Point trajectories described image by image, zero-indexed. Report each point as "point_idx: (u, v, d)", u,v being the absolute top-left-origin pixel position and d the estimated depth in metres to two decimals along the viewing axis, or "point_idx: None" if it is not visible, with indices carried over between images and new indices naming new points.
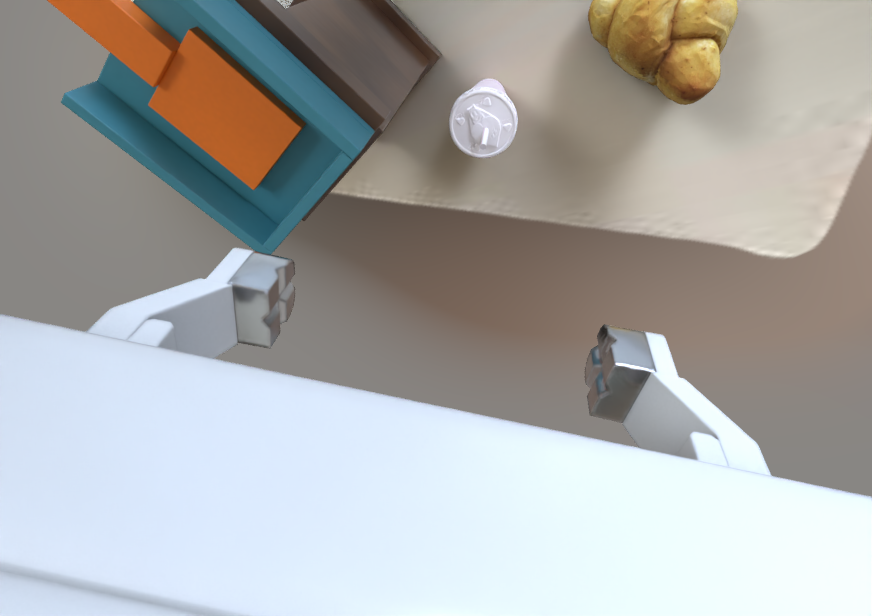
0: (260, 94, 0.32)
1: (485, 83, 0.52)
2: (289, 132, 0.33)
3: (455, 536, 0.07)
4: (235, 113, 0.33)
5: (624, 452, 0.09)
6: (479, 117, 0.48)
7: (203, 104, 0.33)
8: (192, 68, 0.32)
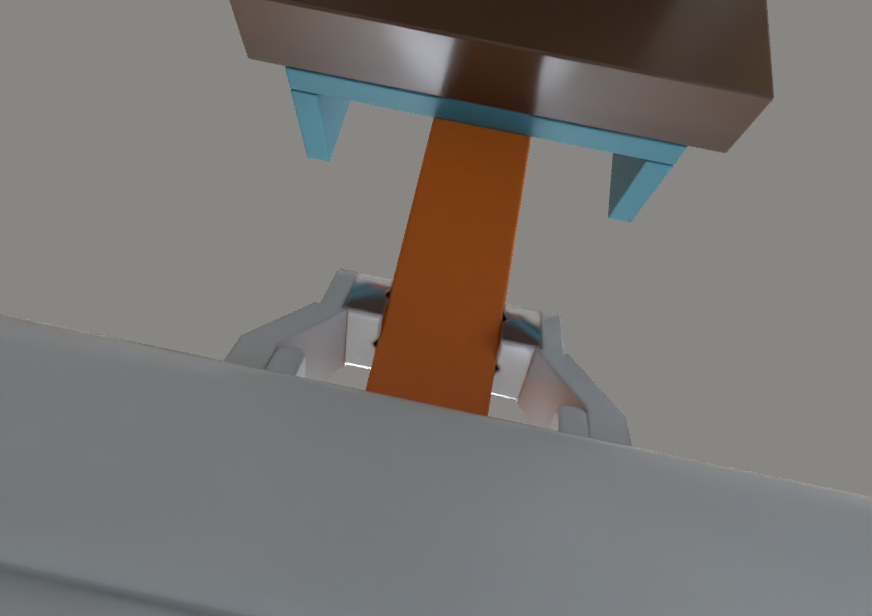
0: None
1: None
2: None
3: (454, 537, 0.07)
4: None
5: (624, 452, 0.09)
6: None
7: None
8: None
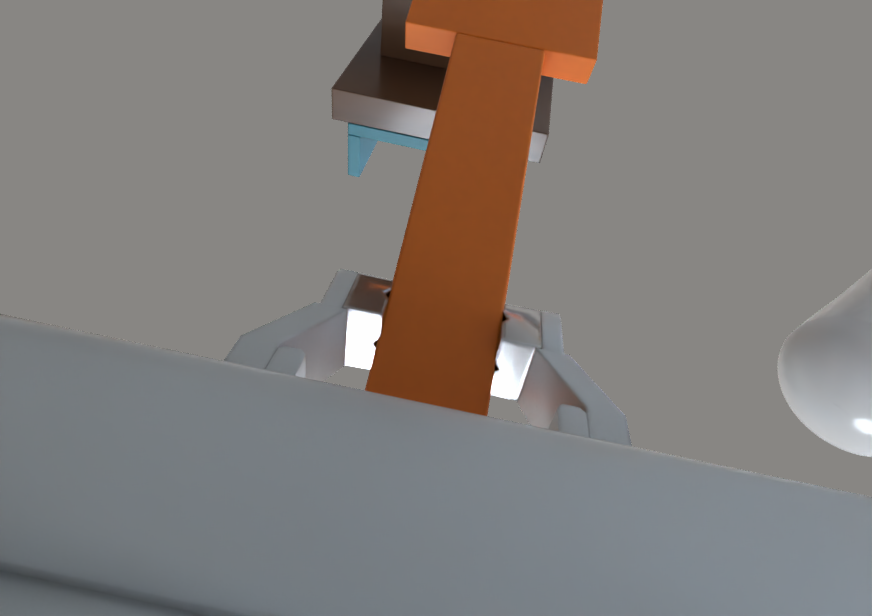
0: None
1: None
2: None
3: (455, 536, 0.07)
4: None
5: (624, 452, 0.09)
6: None
7: None
8: None
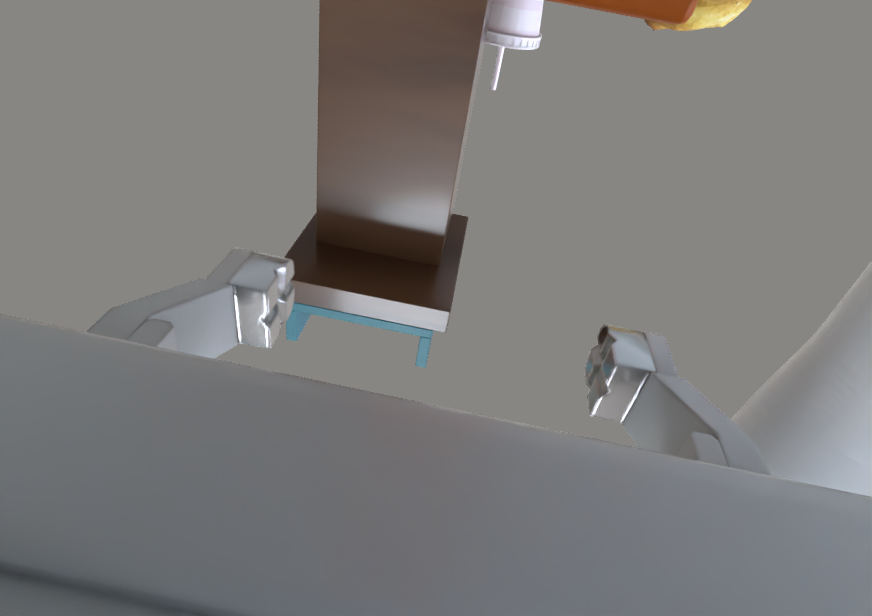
0: None
1: None
2: None
3: (454, 536, 0.07)
4: None
5: (624, 452, 0.09)
6: None
7: None
8: None
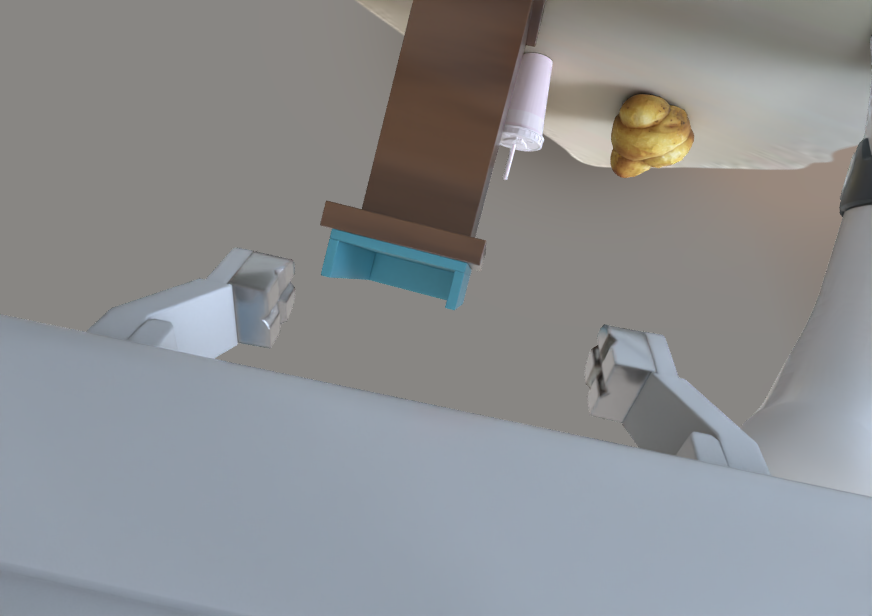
0: None
1: (542, 92, 0.60)
2: None
3: (454, 537, 0.07)
4: None
5: (624, 452, 0.09)
6: (518, 142, 0.61)
7: None
8: None
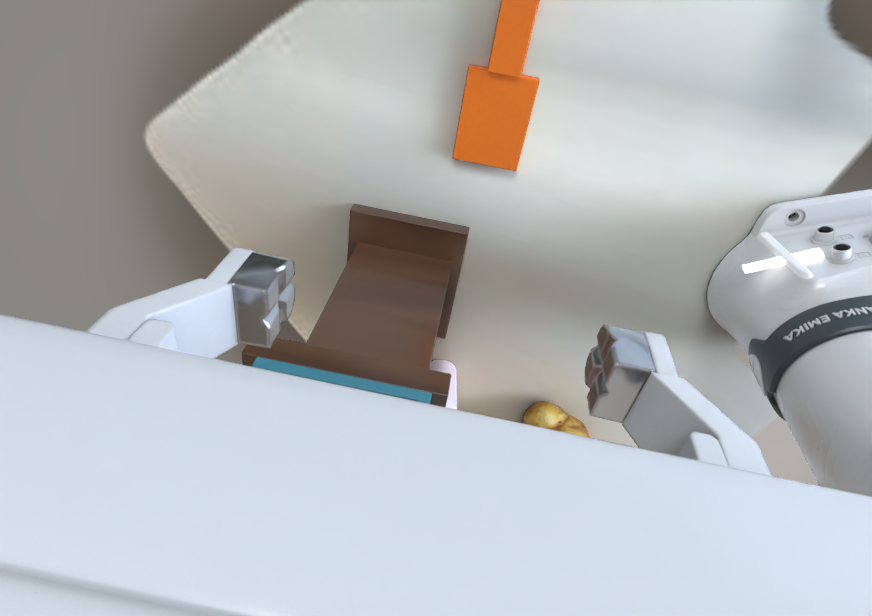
0: (523, 139, 0.47)
1: (452, 386, 0.62)
2: (508, 165, 0.48)
3: (454, 537, 0.07)
4: (500, 128, 0.47)
5: (624, 452, 0.09)
6: None
7: (493, 105, 0.45)
8: (514, 90, 0.45)
